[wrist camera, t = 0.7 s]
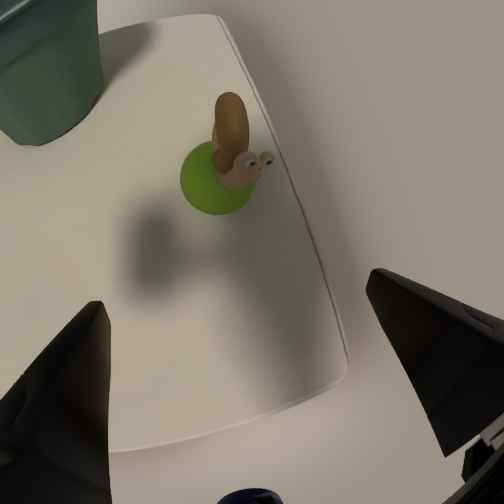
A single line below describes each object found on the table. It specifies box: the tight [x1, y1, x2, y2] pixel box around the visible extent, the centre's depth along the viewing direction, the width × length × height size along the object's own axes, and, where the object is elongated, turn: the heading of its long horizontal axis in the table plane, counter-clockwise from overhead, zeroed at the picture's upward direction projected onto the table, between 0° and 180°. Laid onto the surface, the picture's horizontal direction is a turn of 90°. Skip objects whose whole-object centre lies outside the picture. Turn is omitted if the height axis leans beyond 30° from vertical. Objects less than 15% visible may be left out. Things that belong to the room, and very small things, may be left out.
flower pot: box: [0, 0, 103, 146], centre depth 12 cm, size 16×16×16 cm
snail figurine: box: [180, 92, 274, 215], centre depth 16 cm, size 5×6×12 cm
